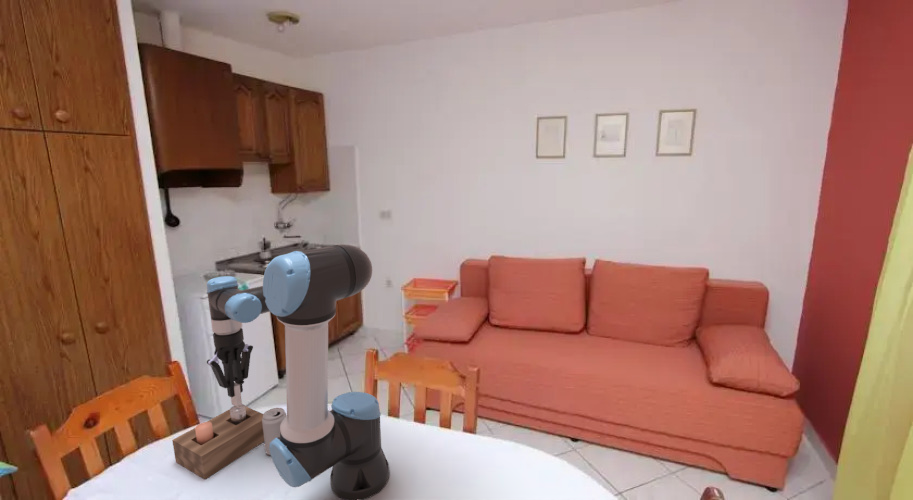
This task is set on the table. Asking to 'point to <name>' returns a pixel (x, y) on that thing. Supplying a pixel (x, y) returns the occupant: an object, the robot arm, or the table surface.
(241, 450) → the socket board
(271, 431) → the beverage can
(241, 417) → the grey plug
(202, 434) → the terracotta plug
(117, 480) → the table surface
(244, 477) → the table surface
